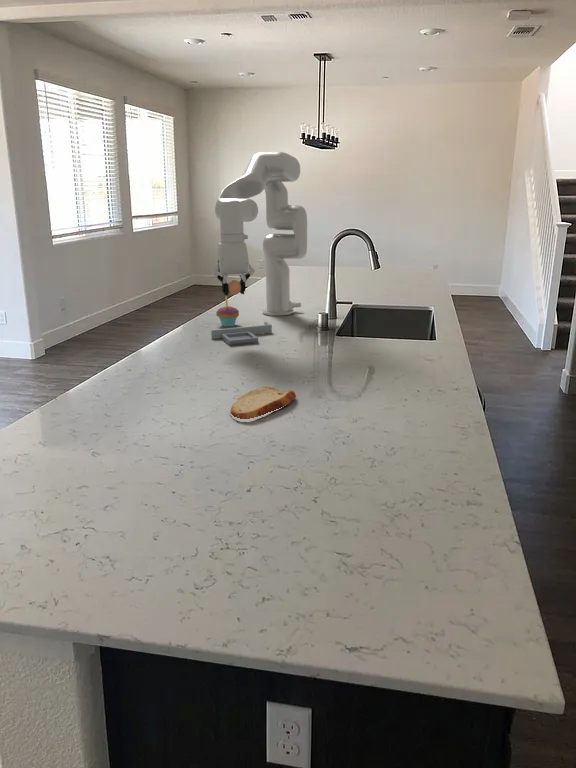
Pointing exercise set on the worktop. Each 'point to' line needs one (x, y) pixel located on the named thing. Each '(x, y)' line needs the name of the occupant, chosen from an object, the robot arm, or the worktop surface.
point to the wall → (243, 330)
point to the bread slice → (261, 402)
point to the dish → (239, 338)
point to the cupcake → (227, 315)
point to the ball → (234, 287)
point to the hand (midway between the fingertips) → (234, 293)
